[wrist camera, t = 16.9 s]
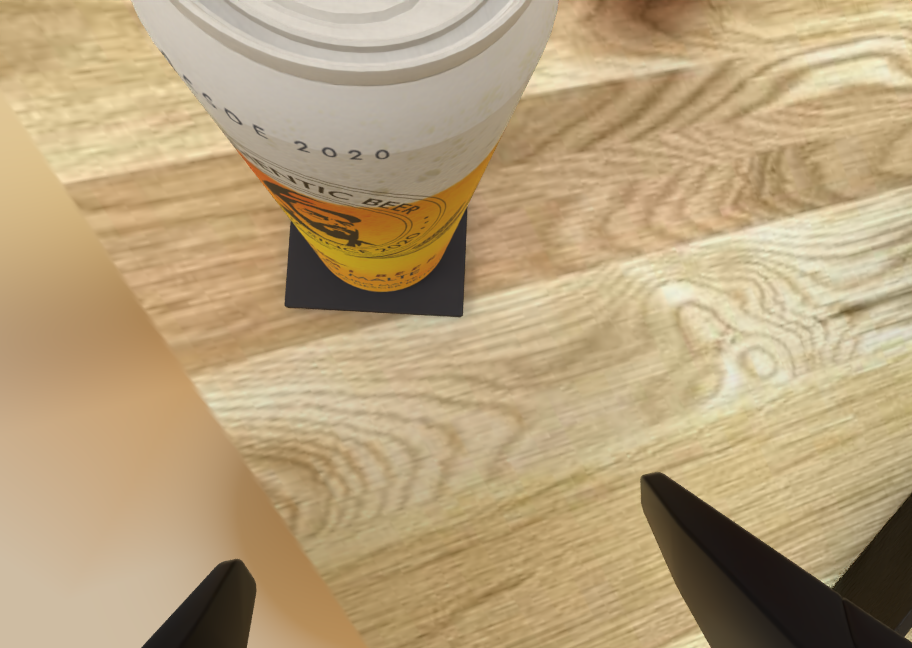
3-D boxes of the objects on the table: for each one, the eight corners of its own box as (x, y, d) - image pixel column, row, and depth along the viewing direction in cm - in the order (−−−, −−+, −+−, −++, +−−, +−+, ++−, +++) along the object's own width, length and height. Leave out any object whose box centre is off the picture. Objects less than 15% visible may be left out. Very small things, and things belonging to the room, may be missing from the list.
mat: (461, 317, 20) (462, 316, 20) (286, 307, 19) (283, 306, 19) (468, 155, 21) (469, 151, 21) (299, 137, 20) (296, 132, 19)
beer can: (296, 272, 19) (-51, -16, 4) (336, 147, 20) (156, -487, 5) (427, 310, 20) (529, 178, 5) (461, 188, 20) (642, -255, 6)
